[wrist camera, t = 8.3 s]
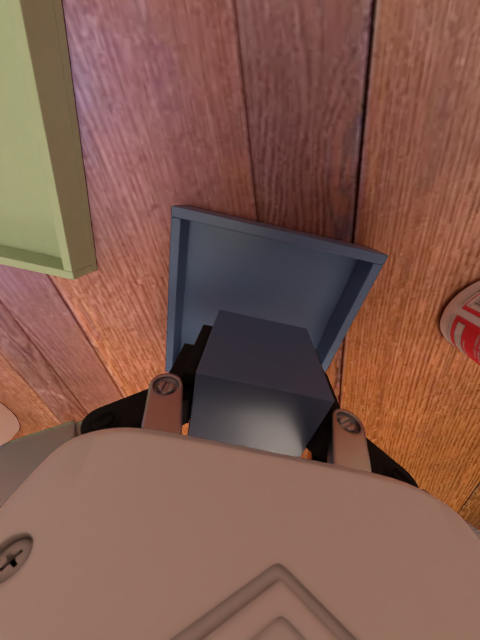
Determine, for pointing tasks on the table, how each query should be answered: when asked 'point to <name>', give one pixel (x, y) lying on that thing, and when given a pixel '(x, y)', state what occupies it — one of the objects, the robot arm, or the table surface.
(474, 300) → the pill bottle
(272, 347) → the block
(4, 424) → the mug
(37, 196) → the tray
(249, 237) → the block tray
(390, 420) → the table surface
